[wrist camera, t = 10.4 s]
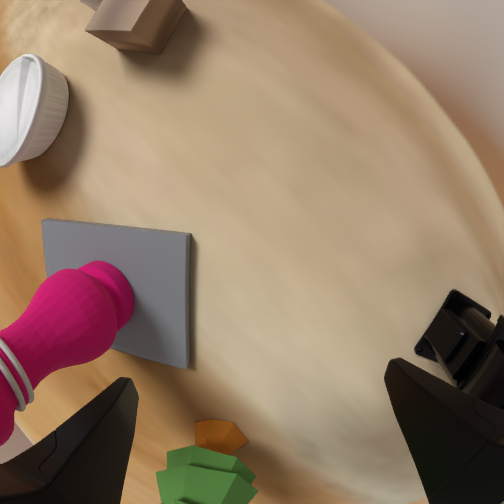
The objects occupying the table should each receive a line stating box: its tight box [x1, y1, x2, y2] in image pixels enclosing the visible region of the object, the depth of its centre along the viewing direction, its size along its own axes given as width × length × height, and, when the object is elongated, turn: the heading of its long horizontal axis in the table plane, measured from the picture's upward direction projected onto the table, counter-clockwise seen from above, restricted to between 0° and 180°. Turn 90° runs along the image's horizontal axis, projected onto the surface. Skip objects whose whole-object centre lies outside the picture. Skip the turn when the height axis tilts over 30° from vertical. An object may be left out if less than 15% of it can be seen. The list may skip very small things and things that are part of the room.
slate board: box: [42, 218, 191, 369], centre depth 23 cm, size 16×12×1 cm
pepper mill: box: [0, 261, 135, 446], centre depth 12 cm, size 7×7×20 cm
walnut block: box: [85, 0, 187, 54], centre depth 14 cm, size 5×5×5 cm
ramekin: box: [0, 54, 69, 168], centre depth 17 cm, size 11×11×5 cm
